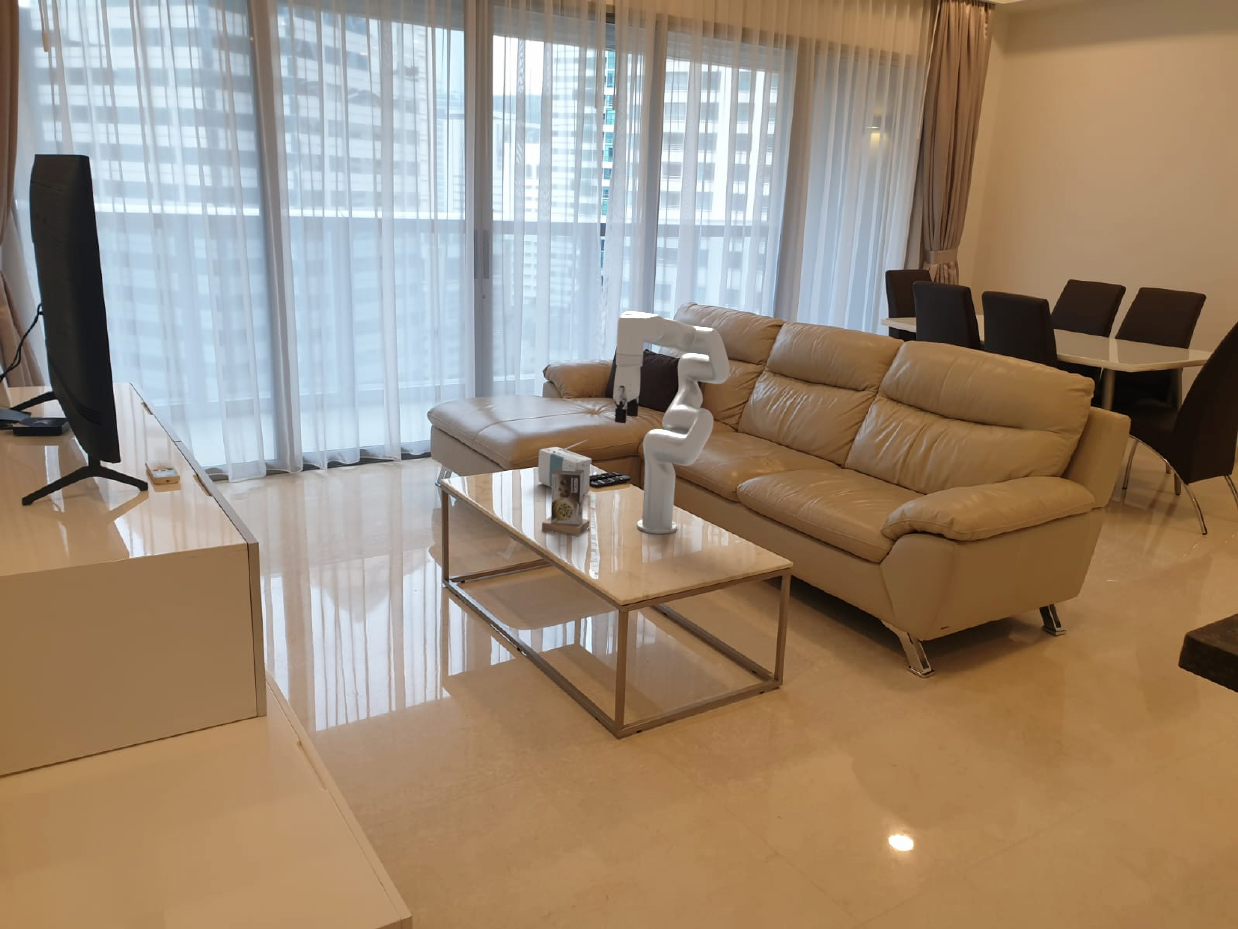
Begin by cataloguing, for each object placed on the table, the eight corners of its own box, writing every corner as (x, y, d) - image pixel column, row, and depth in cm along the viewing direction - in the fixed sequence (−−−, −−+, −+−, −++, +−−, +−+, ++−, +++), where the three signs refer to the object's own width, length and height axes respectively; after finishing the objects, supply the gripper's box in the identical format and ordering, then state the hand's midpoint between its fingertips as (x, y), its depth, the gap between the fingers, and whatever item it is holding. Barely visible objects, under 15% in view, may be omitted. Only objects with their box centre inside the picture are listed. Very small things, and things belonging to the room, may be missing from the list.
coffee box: (582, 519, 282) (584, 469, 278) (579, 525, 276) (581, 475, 272) (554, 516, 283) (555, 467, 279) (550, 523, 277) (551, 472, 273)
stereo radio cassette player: (536, 484, 324) (538, 430, 319) (554, 480, 330) (556, 427, 324) (573, 499, 310) (576, 442, 304) (592, 495, 315) (594, 439, 310)
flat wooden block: (554, 521, 286) (554, 514, 285) (589, 527, 282) (589, 520, 282) (541, 530, 278) (542, 522, 277) (577, 536, 274) (578, 528, 273)
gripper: (627, 354, 263) (624, 412, 267) (605, 362, 247) (603, 423, 252) (651, 357, 260) (648, 415, 265) (631, 365, 245) (628, 426, 249)
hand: (626, 419), depth 258 cm, fingers open, 9 cm apart
